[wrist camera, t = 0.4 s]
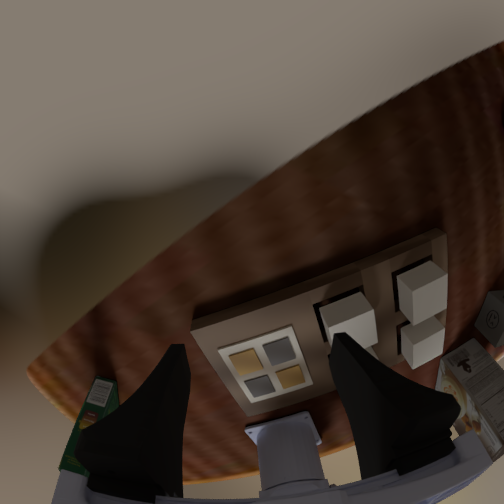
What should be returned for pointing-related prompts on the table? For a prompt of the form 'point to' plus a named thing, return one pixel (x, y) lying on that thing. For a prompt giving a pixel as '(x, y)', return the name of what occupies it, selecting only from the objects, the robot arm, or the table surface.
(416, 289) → the button
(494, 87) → the table surface
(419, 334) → the button
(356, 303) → the button
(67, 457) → the coffee box
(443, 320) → the board
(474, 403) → the coffee box
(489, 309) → the grey cube with symbol
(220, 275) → the table surface
